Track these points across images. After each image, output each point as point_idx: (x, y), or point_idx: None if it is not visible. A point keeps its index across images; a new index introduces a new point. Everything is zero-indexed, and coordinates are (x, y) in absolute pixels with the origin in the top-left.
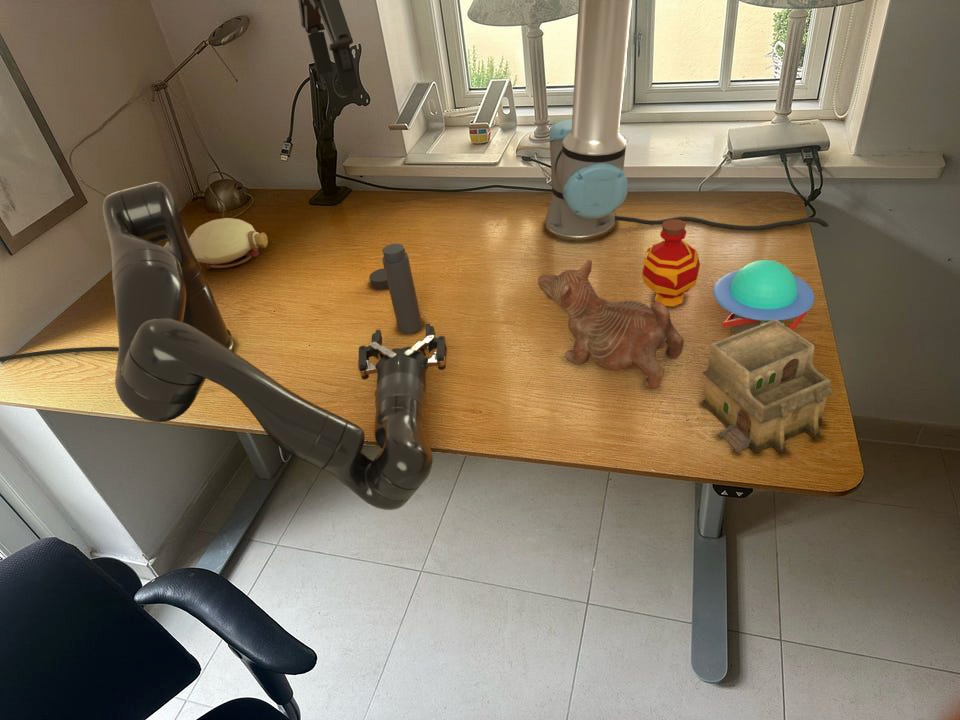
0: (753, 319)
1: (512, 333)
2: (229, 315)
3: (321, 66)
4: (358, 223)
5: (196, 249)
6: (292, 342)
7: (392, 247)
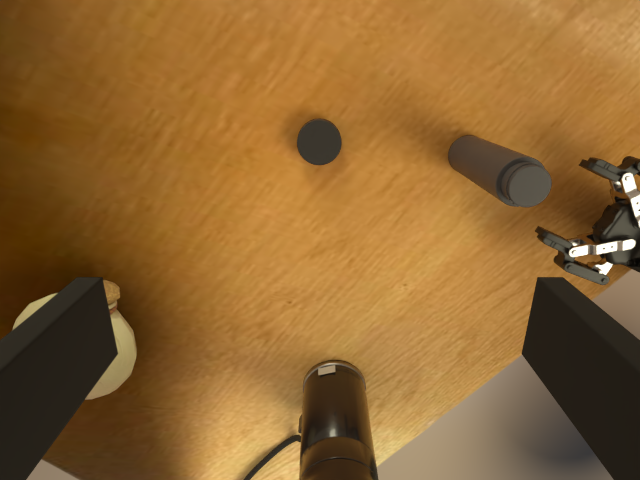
0: None
1: (603, 21)
2: (260, 351)
3: (92, 355)
4: (63, 97)
5: (109, 391)
6: (382, 300)
7: (524, 186)
